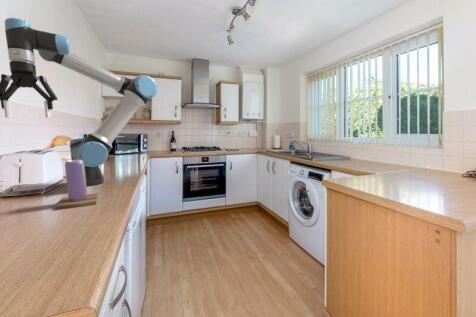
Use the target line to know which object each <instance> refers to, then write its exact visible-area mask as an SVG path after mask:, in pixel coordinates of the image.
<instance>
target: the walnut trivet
mask: <svg viewBox="0 0 476 317" xmlns="http://www.w3.org/2000/svg"><path fill="white" fill-rule="evenodd" d="M98 198H99V195H98V193H93V194H87V198H86V199H85V200H81V201H70V200H69V199H68V196H66V197H61V198H60V200H59V201H58V202H57V204H56V205H55V210H56V211H57V210H59V211H60V210H65V209H66V210H67V209H71V208H72V209H73V208H79V207H86V206H87V207H88V206H93V205H97V202H98Z"/></svg>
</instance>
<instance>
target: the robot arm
mask: <svg viewBox="0 0 476 317" xmlns="http://www.w3.org/2000/svg"><path fill="white" fill-rule="evenodd" d="M4 31H5V38H6V46H7V52H8V53H7V54H8V59H9V63H8V64H9V71H10V73H11V74H10V75H8V74H5V73H2V74H0V106H1V109H3V110H4V118H7V119H11V118H13V111H12V105H11V100H10V98H11V97H12V96H13V95H14V94H15V93H16V91H17V90H18V89H20V88H24V89H26V88H29V89H31V88H33V89H34V91H36V92H37V93H38V94H39V95H40V96H41V97H42V98H43V99H45V100H44V101H43V104H44V113H45V118H49V119H51V118H52V110H54V106H53V104H54V103H53V102H54V101H58V97H57V95H56V94H55V92H54V91H53V89H52V88H51V86H50V85H49V83H48V80H47V78H46V76H43V75H41V74H40V75H39V76H37V68H36V65H35V64H36V61H35V60H36V59H35V54H34V53H35V52H34V50H36V51H38V52H37V53H38V55H39V56H40V57H41V59H43V60H44V61H46V62H50V63H51V62H52V63H55V64H58V65H60V66H62V67H64V68H67V69H70V70H71V71H74V72H76V73H78V74H80V75H82V76H84V77H86V78H89V79H91V80H93V81H96V82H98V83H100V84H102V85H104V86H106V87H109V88H111V89H114V90H115V93H118V94H120V95H122V96H123V98H121V100H120V101H119V102H118V103H117V104H116V105H115V107H114V108H113V109H112V111H111V112H110V113H109V115H108V116H107V117H106V118H105V119H104V120H103V122H102V123H101V124H100V125H99V126H98V127H97V129H96V130H95V131H94V132H91V133H88V135H86V137H85V138H83V137H82V138H73V139H71V140H70V141H69V149H70V160H84V165H85V176H86V186H87V187H89V186H90V187H91V186H95V185H99V184H102V183H104V182H105V178H104V175H103V173H102V171H101V168H100V166H102V165H103V164H104V163H105V162H107V160H108V157H109V153H110V152H111V150H112V149H113V145H112V144H113V143H114V141H115V139H116V138H117V137H118V136H119V134H120V133H121V132H122V131H123V129H124V128H125V126H126V125H127V124H128V122H129V121H130V120H131V119H132V117H133V116H135V113H136V112H137V111H138V109H139V108H140V107H145V106H146V104H147V103H148V102H149V101H150V100H151V99H152V98H155V96H156V95H157V93H158V85H157V82H156V81H155V79H153V77H151V76H149V75H146V74H141V75H140V74H139V75H138V76H136V77H134V78H129V77H126V76H124V75H122V76H120V75H118V74H116V73H114V72H111V71H110V70H108V69H105V67H104V68H103V67H102V66H99V65H98V64H96V63H93V62H92V61H90V60H88V59H86V58H83V57H82V56H80V55H77V54H76V53H73V52H71V51H70V50H71V48H70V39H69V38H68V37H67V36H64V35H62V34H59V33H52V32H48V31H44V30H38V29H35V28H32V25H31V24H30V23H29V22H28V21H27V20H23V19H21V18H16V17H8V18H6V19H5V20H4ZM11 80H12V82H11V83H10V81H11ZM37 82H40V84H41V85H42V87H43V88H44V90H45V91H46V92H45V91H44V90H43V89H42V87H40V85H38V83H37ZM9 84H10V85H9Z"/></svg>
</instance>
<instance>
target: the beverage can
mask: <svg viewBox="0 0 476 317" xmlns="http://www.w3.org/2000/svg"><path fill="white" fill-rule="evenodd" d="M64 169H65V178H66V188H67V197H68V199H69V200H70V201H81V200H85V199H86V198H87V195H88V190H87V187H88V186H86V176H85V165H84V160H71V159H70V160H65V163H64Z"/></svg>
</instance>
